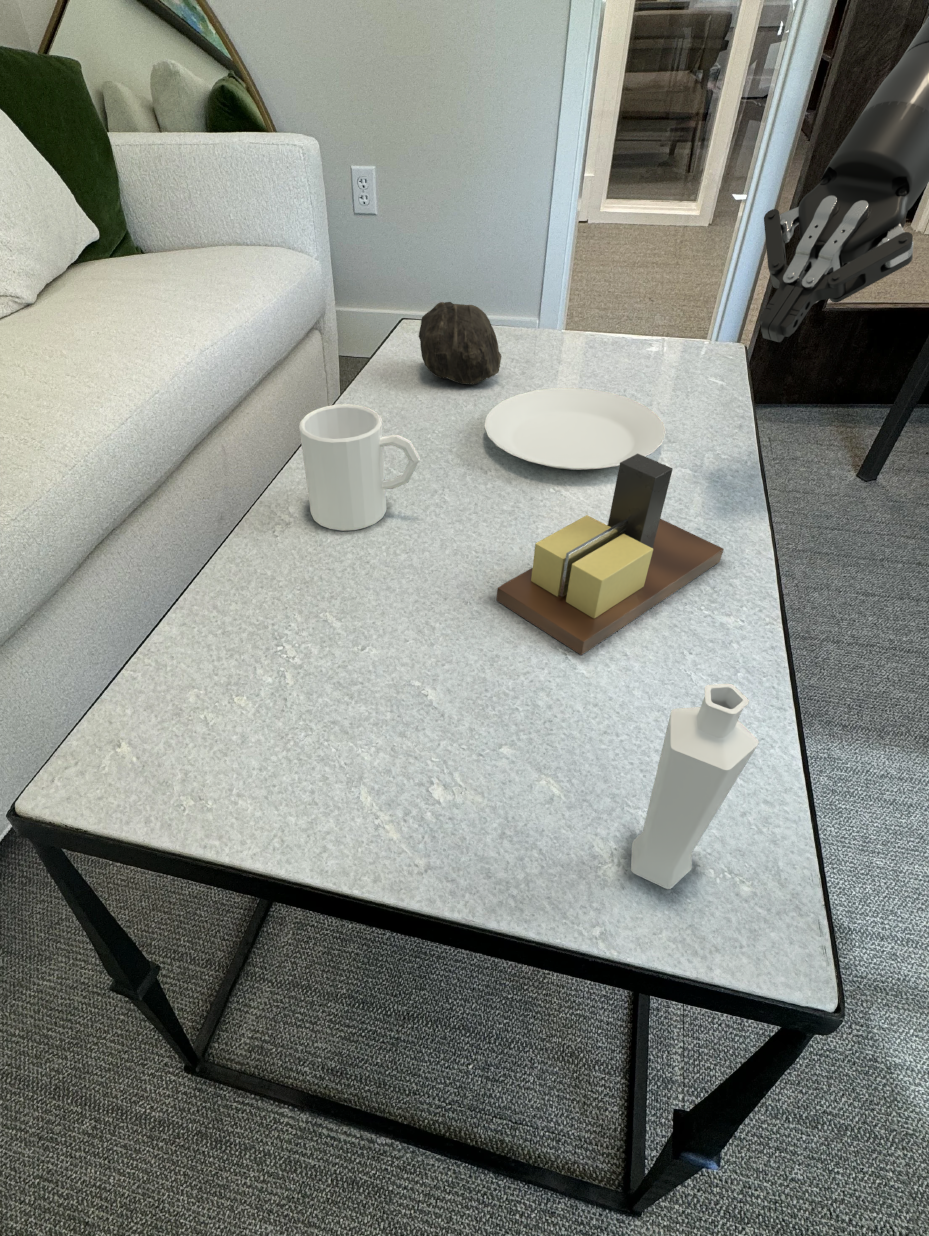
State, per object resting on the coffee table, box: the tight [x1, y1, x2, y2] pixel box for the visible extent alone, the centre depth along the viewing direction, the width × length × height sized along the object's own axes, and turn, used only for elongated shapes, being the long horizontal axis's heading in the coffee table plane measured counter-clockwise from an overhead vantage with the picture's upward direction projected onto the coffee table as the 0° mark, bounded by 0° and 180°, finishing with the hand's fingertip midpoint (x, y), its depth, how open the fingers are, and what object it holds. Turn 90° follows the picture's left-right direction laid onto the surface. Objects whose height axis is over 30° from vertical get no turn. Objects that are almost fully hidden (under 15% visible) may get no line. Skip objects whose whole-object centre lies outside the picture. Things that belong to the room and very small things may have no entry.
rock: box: [418, 301, 502, 385], centre depth 99 cm, size 10×11×10 cm
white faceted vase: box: [630, 683, 760, 890], centre depth 41 cm, size 5×4×15 cm
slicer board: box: [496, 518, 725, 656], centre depth 67 cm, size 20×10×2 cm, turn 130°
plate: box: [483, 387, 667, 471], centre depth 86 cm, size 21×21×2 cm
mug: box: [298, 403, 421, 532], centre depth 74 cm, size 8×12×10 cm, turn 74°
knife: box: [560, 454, 674, 597], centre depth 62 cm, size 10×4×9 cm, turn 130°
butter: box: [531, 514, 653, 619], centre depth 64 cm, size 7×7×4 cm
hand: (770, 335), depth 62 cm, fingers closed
